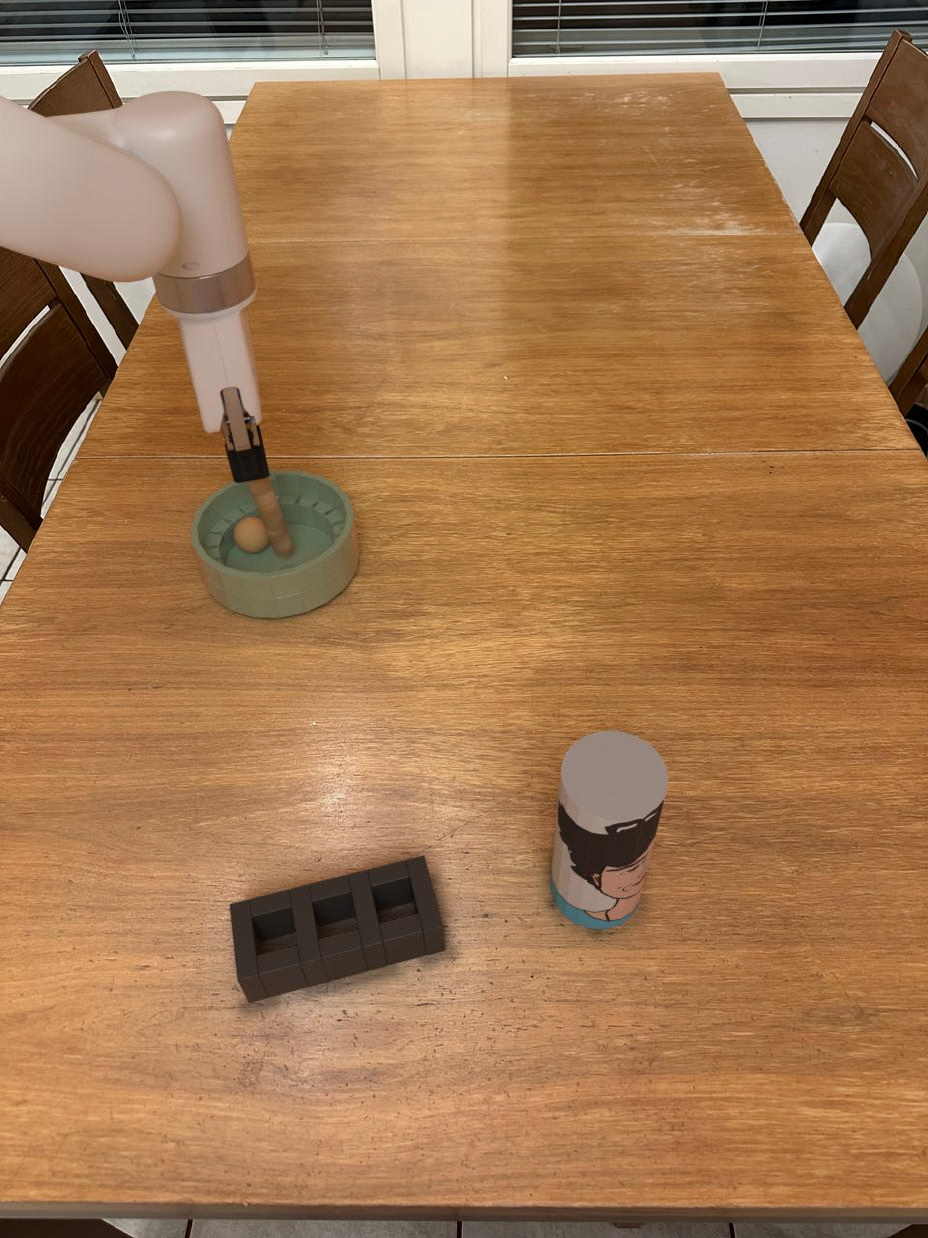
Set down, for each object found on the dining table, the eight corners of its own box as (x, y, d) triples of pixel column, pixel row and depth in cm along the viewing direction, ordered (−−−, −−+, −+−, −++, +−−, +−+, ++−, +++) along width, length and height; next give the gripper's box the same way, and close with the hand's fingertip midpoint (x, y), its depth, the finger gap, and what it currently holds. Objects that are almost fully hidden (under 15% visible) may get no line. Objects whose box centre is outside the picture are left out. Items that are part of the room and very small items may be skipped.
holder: (248, 1003, 65) (237, 980, 62) (240, 929, 69) (229, 903, 66) (445, 951, 67) (443, 926, 64) (427, 881, 71) (424, 854, 68)
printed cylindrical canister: (600, 948, 67) (621, 841, 56) (531, 886, 71) (538, 774, 60) (659, 886, 70) (690, 774, 59) (590, 829, 74) (607, 713, 63)
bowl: (211, 636, 88) (196, 591, 84) (199, 530, 98) (185, 485, 94) (373, 603, 91) (366, 558, 86) (345, 503, 101) (338, 458, 96)
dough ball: (229, 555, 95) (223, 519, 94) (258, 546, 97) (252, 511, 96) (251, 558, 92) (245, 522, 91) (280, 549, 95) (274, 514, 94)
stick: (273, 558, 93) (221, 427, 81) (275, 543, 94) (225, 412, 82) (293, 555, 93) (244, 424, 81) (295, 541, 94) (247, 410, 82)
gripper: (149, 238, 76) (201, 426, 90) (159, 338, 66) (216, 534, 80) (242, 225, 78) (280, 412, 91) (266, 321, 67) (304, 517, 81)
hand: (250, 468), depth 85 cm, fingers closed on stick, 2 cm apart
